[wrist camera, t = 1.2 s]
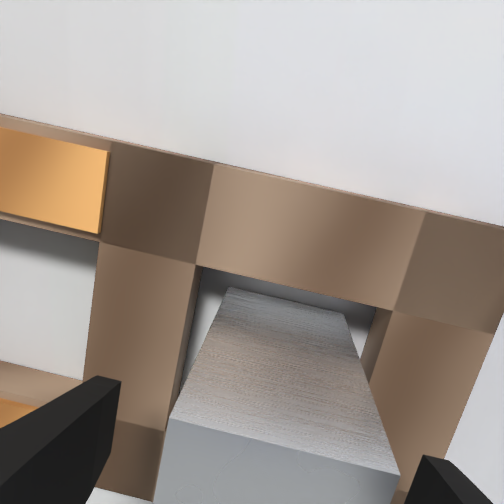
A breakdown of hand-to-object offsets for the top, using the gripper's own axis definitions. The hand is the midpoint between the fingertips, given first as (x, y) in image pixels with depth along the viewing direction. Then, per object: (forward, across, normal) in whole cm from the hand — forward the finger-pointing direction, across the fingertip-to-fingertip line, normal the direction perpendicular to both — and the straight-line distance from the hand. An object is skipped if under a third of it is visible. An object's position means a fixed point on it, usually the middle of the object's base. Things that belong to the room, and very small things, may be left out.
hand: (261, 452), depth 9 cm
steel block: (+5, 0, 0) cm, 5 cm away
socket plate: (+5, +4, 0) cm, 7 cm away
